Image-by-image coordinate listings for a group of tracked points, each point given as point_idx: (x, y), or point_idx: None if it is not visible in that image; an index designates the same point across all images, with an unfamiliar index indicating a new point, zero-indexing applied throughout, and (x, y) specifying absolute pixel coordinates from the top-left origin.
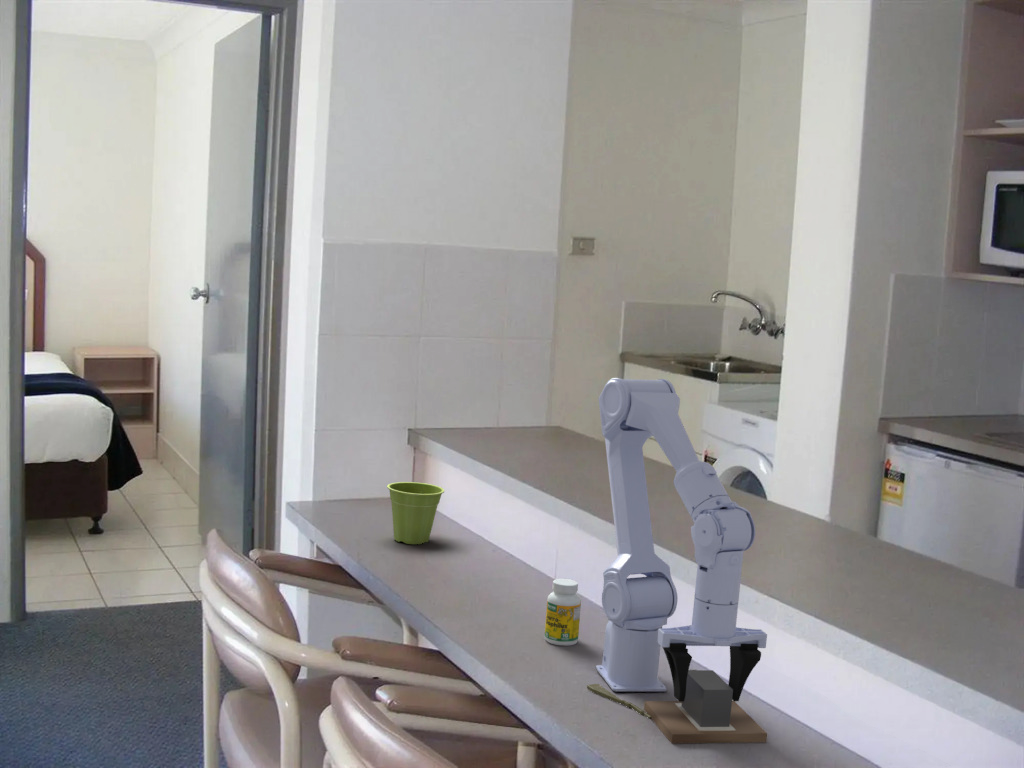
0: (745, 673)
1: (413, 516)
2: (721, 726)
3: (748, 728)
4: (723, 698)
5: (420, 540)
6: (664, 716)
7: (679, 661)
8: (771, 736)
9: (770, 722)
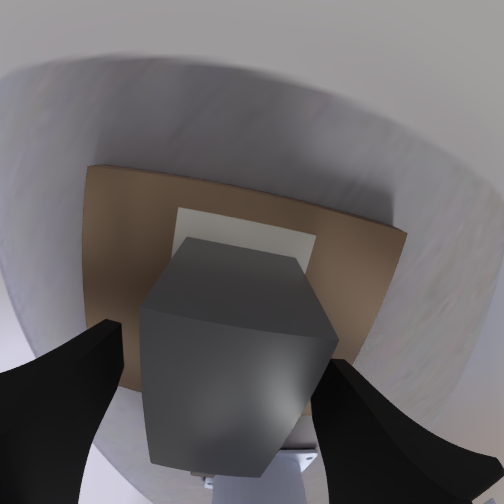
0: (27, 380)
1: None
2: (216, 243)
3: (124, 213)
4: (209, 290)
5: None
6: (344, 345)
7: (475, 461)
8: (70, 203)
9: (45, 282)
